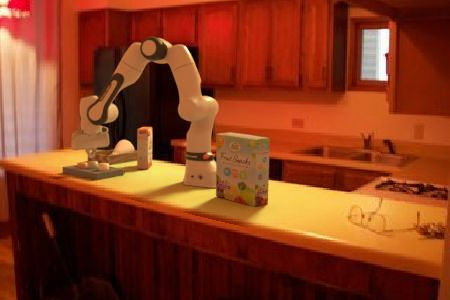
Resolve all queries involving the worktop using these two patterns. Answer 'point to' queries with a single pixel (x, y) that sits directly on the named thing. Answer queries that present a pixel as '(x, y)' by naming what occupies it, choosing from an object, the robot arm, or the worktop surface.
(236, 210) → the worktop surface
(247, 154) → the snack box
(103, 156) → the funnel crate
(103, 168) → the ivory button
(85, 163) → the terracotta button
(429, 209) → the worktop surface
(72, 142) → the robot arm
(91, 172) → the panel
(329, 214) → the worktop surface
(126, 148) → the cream teardrop
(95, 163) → the sage button
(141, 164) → the cracker box
